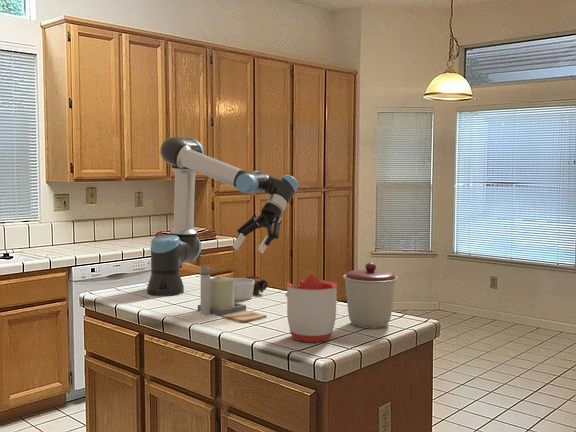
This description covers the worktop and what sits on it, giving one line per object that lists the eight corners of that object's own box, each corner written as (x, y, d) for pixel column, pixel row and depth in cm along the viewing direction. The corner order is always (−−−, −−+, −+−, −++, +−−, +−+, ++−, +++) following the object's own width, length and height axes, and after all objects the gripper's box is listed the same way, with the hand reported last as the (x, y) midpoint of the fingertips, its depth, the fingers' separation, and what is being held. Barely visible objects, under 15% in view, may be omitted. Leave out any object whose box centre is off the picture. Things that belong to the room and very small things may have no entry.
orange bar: (203, 274, 216) (204, 267, 216) (180, 268, 229) (180, 262, 228) (211, 274, 218) (211, 267, 218) (187, 267, 230) (187, 261, 230)
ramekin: (239, 302, 239) (239, 285, 238) (214, 298, 246) (214, 281, 246) (261, 297, 249) (261, 280, 249) (236, 293, 257) (236, 276, 256)
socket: (191, 311, 222) (191, 273, 221) (222, 305, 234) (222, 268, 233) (214, 317, 214) (214, 277, 213) (246, 310, 226) (246, 272, 225)
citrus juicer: (303, 327, 202) (304, 267, 200) (346, 337, 191) (347, 273, 189) (271, 337, 190) (271, 273, 189) (315, 348, 179) (316, 280, 177)
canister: (331, 325, 206) (332, 262, 204) (361, 315, 219) (362, 257, 218) (378, 335, 194) (379, 269, 192) (406, 324, 208) (408, 262, 206)
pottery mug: (238, 296, 253) (237, 277, 257) (248, 302, 261) (247, 284, 264) (264, 290, 249) (263, 271, 253) (274, 297, 257) (272, 278, 261)
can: (223, 306, 232) (224, 275, 231) (239, 310, 225) (239, 278, 224) (204, 310, 225) (204, 277, 224) (219, 314, 219) (219, 281, 218)
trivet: (221, 317, 214) (221, 315, 214) (244, 312, 222) (244, 310, 222) (244, 323, 207) (244, 320, 207) (266, 317, 215) (266, 315, 215)
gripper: (302, 216, 237) (276, 258, 227) (255, 213, 253) (229, 253, 243) (293, 202, 232) (266, 245, 222) (246, 200, 249) (219, 240, 239)
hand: (247, 249), depth 233 cm, fingers open, 13 cm apart
